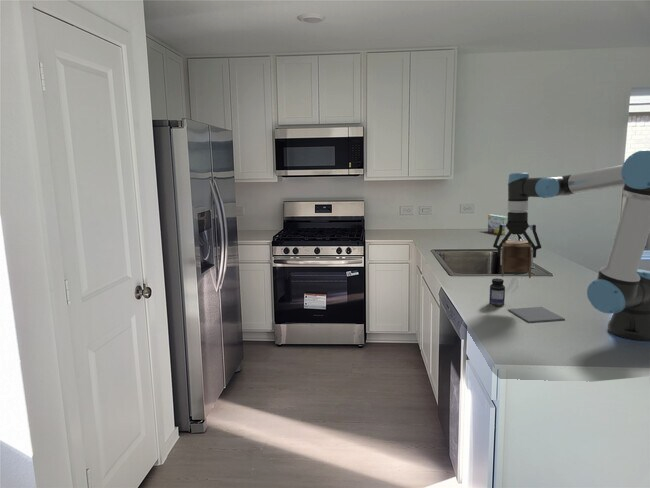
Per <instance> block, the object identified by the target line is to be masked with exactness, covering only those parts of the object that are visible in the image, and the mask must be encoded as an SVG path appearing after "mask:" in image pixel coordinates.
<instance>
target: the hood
mask: <svg viewBox="0 0 650 488" xmlns="http://www.w3.org/2000/svg"><path fill="white" fill-rule="evenodd" d="M501 248H502V265H501V277H504V272H505V273H507V272H510V273H513V272H514V273H527V274H528V278H529V279H531V274H532V266H531V249H533V248H532V244H531V243H529V242H528V241H527V240H508V239H507V240H506V242H505V243H503V244H502V247H501Z"/></svg>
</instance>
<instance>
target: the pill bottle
mask: <svg viewBox="0 0 650 488" xmlns="http://www.w3.org/2000/svg"><path fill="white" fill-rule="evenodd" d="M491 283H492V284H490V286H489V298H488V299H489V301H488V302H489V304H490V305H491V306H493V307H503V306H504V305H505V298H506V297H505V296H506V286H505V285H504V279H503V278H497V277H496V278H492V279H491Z"/></svg>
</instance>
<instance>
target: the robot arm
mask: <svg viewBox="0 0 650 488" xmlns="http://www.w3.org/2000/svg"><path fill="white" fill-rule="evenodd" d="M507 182H508V183H507V187H508V189H507V193H508V194H507V198H508V199H507V217H508V220H507V224H500V225H499V232H498V234H496V237H495V240H494V241H493V242H494V243H493V244H492V246H493V248H495V249H497V257H498V258H500V259H499V260H500V266H502V244H503V243H505V242H506V240H508V239H509V237H511V235H519V236H520V235H523V236H524V238H525V239H526V241H528V242H529V243H531V244H532V249H531V267H533V265H534V263H533V262H534V259H535V258H537V250H540V249H542V244H541V241H540V238H539V235H538V234H537V225H536V224H529V223H528V222H529V221H528V219H529V216H528V214H529V213H528V210H529V198H543V199H548V198H554V197H558V196H570V195H575V194H582V193H588V192H597V191H603V190H609V189H615V188H623V190H622V191H623V192H624V193H625V195H626V198H625V202H624V206H623V208H622V212H621V215H620V219H619V223H618V225H617V230H616V232H615V235H614V239H613V242H612V246H611V248H610V252H609V255H608V259H607V263H606V265H605V266H602V267H600V268H599V270H598V274H597V278H596V279H595V280H593V281H591V283H589V284H588V286H587V289H586V297H587V299H588V301H589V302H590V305H591V306H592V307H593V308H594V309H595V310H597V311H598V312H600V313H603V314H607V315H609V314H612V315H611V317H610V320H609V321H608V322H607V331H608V332H609V333H611V334H613V335H614V336H618V337H621V338H624V339H629V340H634V341H635V340H636V341H644V342H645V341H650V270H647V269H642V268H641V269H639V266H640V264H641V260H642V257H643V254H644V251H645V247H646V245H647V241H648V238H649V235H650V148H645V149H641V150H638V151H636V152H634V153H631V154H630V155H629V156H628V157H627V158H626V159H625V161H624V163H623V164H620V165H615V166H610V167H603V168H598V169H594V170H593V169H592V170H589V171H583V172H578V173H574V174H573V173H572V174H568V175H562V176H561V175H560V176H547V177H546V176H545V177H544V176H543V177H530V174H529V173H528V172H511V173H510V174H509V175H508V181H507ZM505 227H507V229H508V230H509V232H508V233H507V235H504V237H503V239H502V240H501V242H500V243H499V244H498V242H499V240H500V238H501V236H502V235H501V233H502V230H504V228H505ZM527 229H530V230H531V231H532V233H533V237H534V240H535V243H536V244H535V243H534V242H533V240H532V239H531V237H530V235H528V233H527Z"/></svg>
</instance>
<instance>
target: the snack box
mask: <svg viewBox="0 0 650 488" xmlns="http://www.w3.org/2000/svg"><path fill="white" fill-rule="evenodd" d="M507 220H508V216H505V215H501V214H500V215H498V214H491V213H490V214H487V232H488V233H492V234H496V235H497V234H498V232H499V225H500V224H507ZM508 232H509V230H508V229H507V227H505V228H504V230H502V233H501V235H500V236H506V235H507V233H508Z"/></svg>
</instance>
